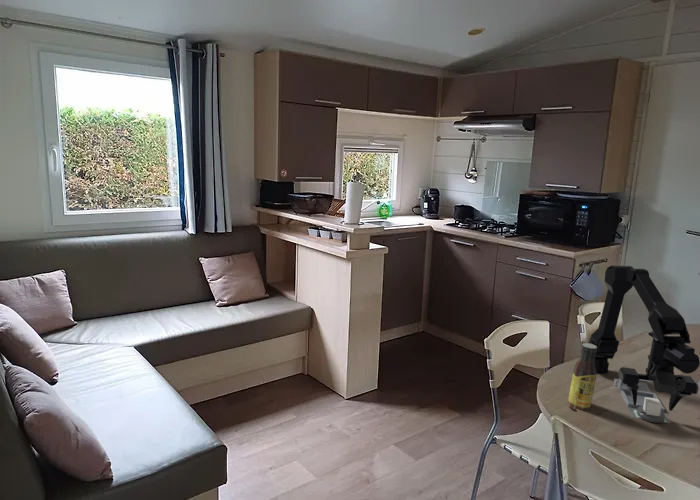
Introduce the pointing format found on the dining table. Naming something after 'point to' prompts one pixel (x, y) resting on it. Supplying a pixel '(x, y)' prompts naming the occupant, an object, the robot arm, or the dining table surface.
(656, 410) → the plug
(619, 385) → the pivoting lever handle
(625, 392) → the socket base
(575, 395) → the sauce bottle
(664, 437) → the dining table surface
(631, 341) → the dining table surface
